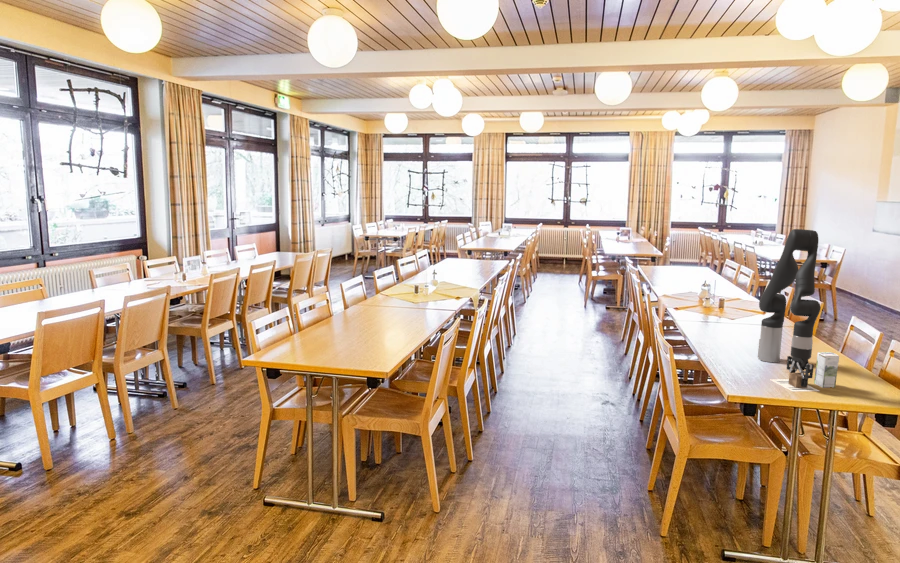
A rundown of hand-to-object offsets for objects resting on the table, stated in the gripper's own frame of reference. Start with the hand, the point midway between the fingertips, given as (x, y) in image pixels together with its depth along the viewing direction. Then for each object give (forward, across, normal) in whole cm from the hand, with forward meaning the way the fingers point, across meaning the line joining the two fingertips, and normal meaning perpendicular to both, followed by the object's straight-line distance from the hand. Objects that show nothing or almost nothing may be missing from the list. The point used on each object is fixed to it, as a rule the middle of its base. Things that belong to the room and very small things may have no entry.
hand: (798, 383), depth 249 cm
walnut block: (+1, 0, 0) cm, 1 cm away
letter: (+1, -1, -1) cm, 2 cm away
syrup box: (+1, 0, +12) cm, 12 cm away
